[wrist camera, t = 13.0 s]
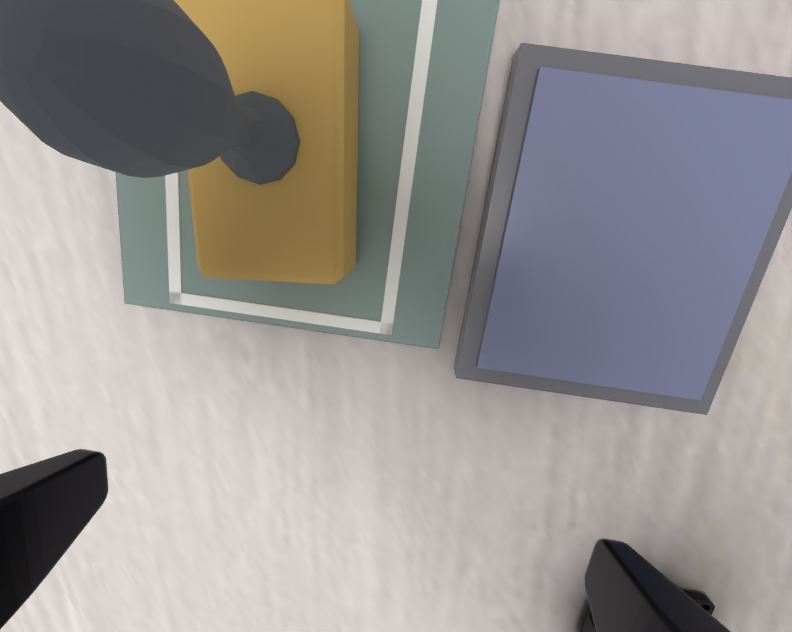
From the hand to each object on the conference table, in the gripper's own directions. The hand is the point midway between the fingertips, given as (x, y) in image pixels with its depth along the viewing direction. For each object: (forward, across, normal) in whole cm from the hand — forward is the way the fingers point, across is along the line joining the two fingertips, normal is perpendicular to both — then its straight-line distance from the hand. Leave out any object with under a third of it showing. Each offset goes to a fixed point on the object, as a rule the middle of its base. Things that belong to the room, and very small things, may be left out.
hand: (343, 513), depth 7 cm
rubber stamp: (+12, +6, -7) cm, 15 cm away
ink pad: (+12, -9, -5) cm, 16 cm away
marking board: (+12, +6, -7) cm, 15 cm away
